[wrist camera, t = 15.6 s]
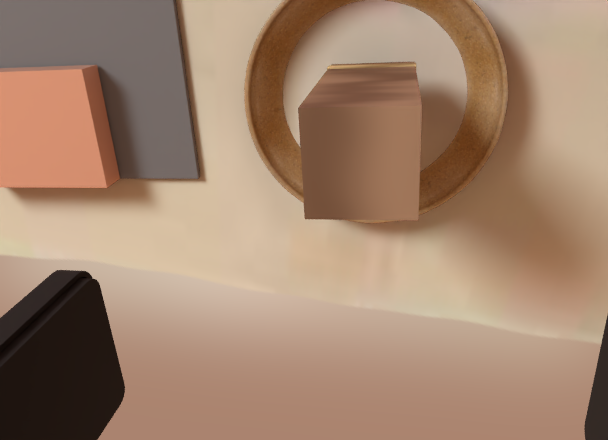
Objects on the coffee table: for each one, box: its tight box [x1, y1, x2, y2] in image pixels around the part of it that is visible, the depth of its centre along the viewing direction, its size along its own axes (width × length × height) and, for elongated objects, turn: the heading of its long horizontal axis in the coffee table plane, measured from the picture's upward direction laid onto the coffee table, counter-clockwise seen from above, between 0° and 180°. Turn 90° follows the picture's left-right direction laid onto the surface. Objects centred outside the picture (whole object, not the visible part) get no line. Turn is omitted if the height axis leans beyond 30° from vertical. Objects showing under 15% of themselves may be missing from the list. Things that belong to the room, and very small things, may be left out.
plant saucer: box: [244, 0, 508, 223], centre depth 32 cm, size 15×15×3 cm
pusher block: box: [298, 62, 422, 221], centre depth 26 cm, size 5×5×11 cm
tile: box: [0, 65, 120, 188], centre depth 35 cm, size 10×2×8 cm
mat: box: [0, 0, 200, 179], centre depth 34 cm, size 17×17×1 cm
